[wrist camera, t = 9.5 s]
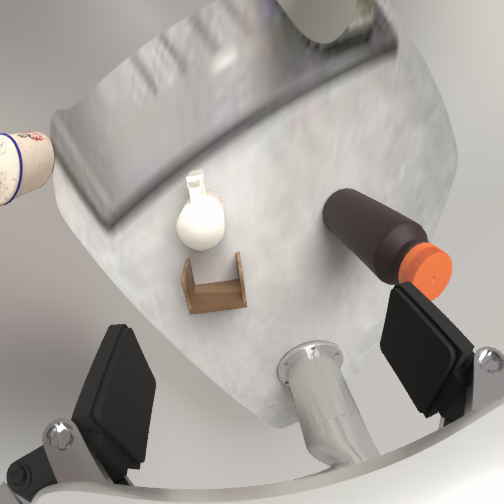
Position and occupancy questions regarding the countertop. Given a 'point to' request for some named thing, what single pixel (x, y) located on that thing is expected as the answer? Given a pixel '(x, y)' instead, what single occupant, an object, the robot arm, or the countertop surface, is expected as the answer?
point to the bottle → (387, 242)
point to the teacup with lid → (24, 163)
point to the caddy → (213, 292)
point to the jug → (201, 215)
